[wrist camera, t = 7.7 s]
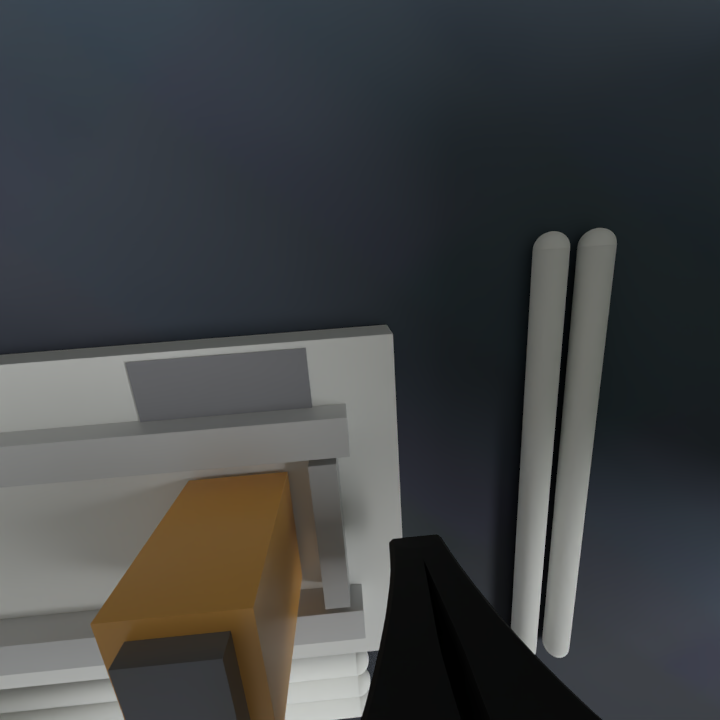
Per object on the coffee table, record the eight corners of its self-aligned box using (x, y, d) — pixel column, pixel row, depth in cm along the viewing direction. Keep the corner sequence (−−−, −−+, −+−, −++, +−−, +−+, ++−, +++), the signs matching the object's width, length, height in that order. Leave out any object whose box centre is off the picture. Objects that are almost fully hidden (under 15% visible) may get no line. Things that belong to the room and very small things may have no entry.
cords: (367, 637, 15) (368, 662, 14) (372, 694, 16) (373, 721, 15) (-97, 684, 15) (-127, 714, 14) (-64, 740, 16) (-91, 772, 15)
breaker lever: (302, 575, 12) (277, 781, 7) (212, 584, 12) (127, 798, 7) (287, 471, 11) (246, 634, 6) (188, 480, 11) (70, 652, 6)
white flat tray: (400, 609, 15) (412, 676, 13) (-149, 665, 14) (-248, 746, 12) (386, 324, 12) (397, 341, 9) (-326, 380, 11) (-509, 413, 9)
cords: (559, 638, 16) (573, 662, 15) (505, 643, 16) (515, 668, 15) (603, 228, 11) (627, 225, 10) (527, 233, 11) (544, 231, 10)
